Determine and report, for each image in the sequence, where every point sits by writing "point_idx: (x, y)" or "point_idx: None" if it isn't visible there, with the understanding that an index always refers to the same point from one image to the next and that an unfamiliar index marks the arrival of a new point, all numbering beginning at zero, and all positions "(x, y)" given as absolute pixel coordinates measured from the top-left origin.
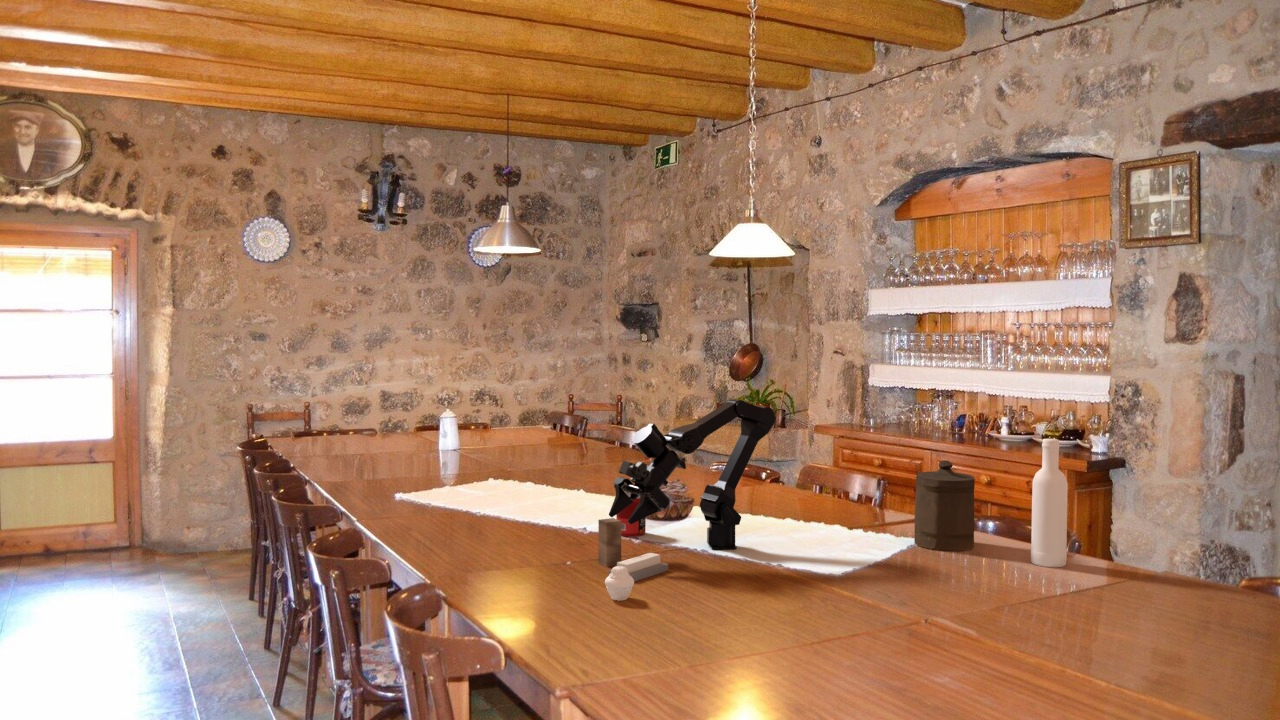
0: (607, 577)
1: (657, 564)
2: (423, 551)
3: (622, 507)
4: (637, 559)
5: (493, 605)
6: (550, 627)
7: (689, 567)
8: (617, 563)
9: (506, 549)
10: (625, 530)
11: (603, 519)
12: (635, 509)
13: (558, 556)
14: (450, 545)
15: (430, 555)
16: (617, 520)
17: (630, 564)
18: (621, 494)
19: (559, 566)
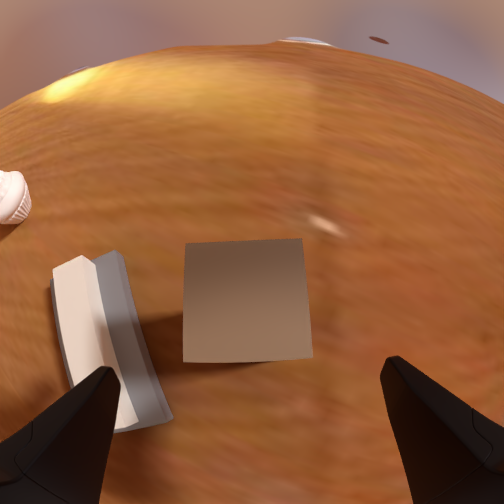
0: (13, 172)
1: None
2: (444, 88)
3: (415, 471)
4: (74, 331)
5: (131, 70)
6: (35, 114)
7: (107, 492)
8: (81, 256)
9: (462, 166)
10: None
11: (294, 271)
12: (50, 428)
13: (396, 228)
14: (477, 122)
15: (424, 82)
16: (212, 346)
17: (54, 283)
18: (489, 494)
19: (293, 188)
